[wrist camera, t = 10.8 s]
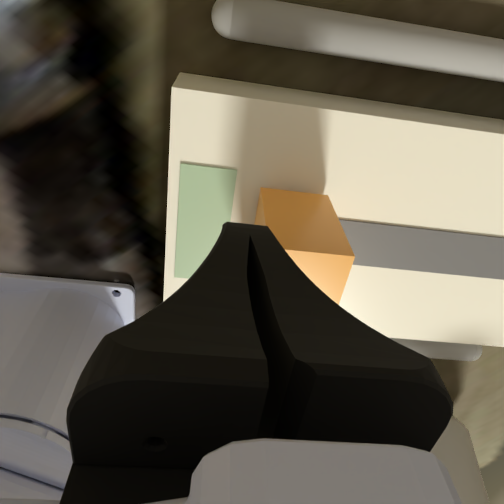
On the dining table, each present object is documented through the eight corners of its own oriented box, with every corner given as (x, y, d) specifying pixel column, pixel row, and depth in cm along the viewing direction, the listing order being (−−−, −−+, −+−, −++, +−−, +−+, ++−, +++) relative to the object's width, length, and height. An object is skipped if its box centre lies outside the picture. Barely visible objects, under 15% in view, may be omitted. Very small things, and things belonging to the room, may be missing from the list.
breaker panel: (169, 285, 25) (162, 320, 22) (179, 72, 18) (171, 87, 16) (507, 315, 27) (536, 350, 25) (621, 137, 21) (676, 159, 18)
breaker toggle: (244, 279, 21) (247, 352, 17) (260, 187, 18) (268, 247, 14) (303, 284, 21) (320, 357, 17) (327, 195, 18) (354, 256, 14)
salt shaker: (441, 382, 31) (554, 601, 20) (464, 419, 34) (575, 630, 23) (369, 411, 32) (438, 628, 22) (398, 445, 35) (471, 653, 24)
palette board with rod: (186, 326, 27) (184, 345, 25) (213, -11, 17) (212, -10, 15) (468, 349, 29) (480, 367, 28) (643, 62, 19) (674, 69, 18)
